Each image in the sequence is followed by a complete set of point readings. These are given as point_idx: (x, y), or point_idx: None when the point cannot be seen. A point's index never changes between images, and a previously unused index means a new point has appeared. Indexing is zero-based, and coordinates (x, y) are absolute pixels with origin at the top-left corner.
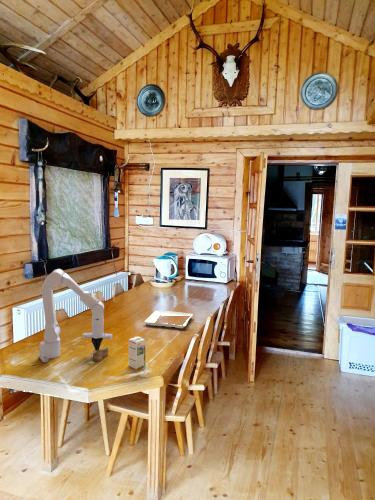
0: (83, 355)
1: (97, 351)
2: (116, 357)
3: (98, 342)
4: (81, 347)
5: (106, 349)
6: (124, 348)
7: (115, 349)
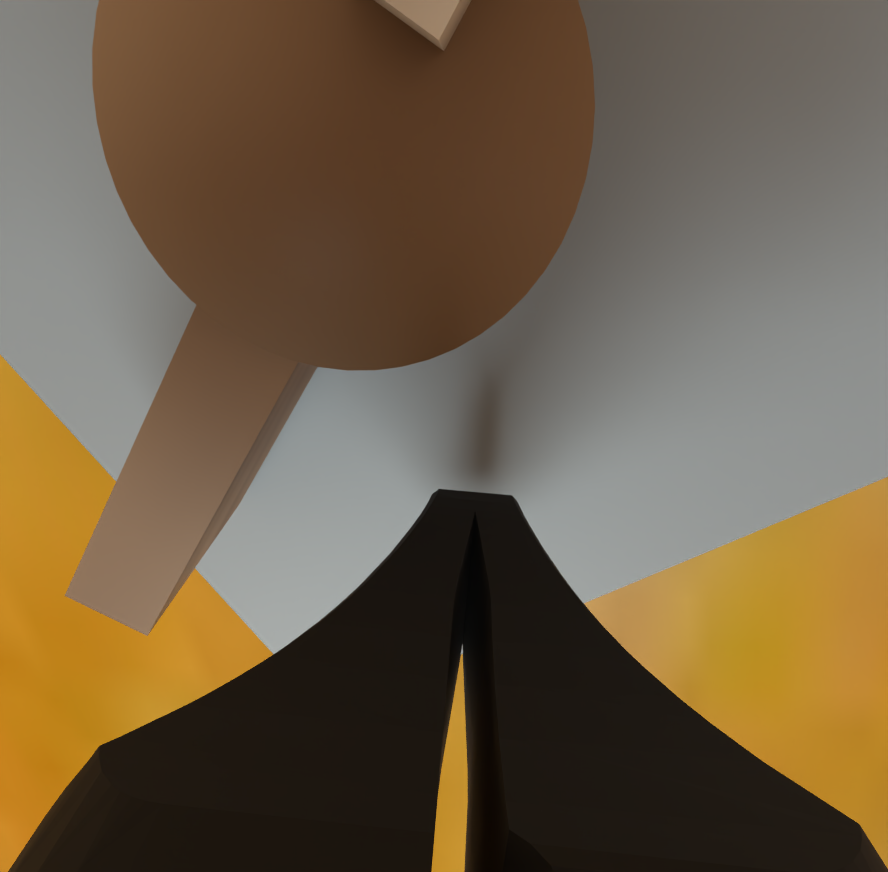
0: (813, 544)
1: (350, 129)
2: (12, 426)
3: (313, 736)
4: None
5: (113, 516)
6: (35, 792)
7: None
